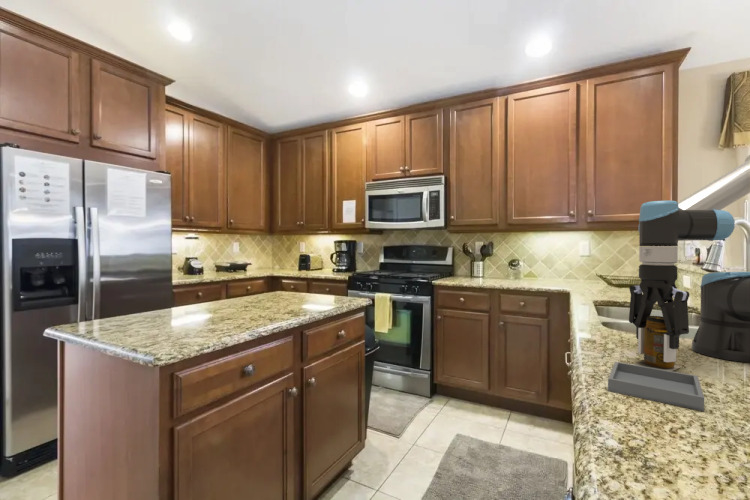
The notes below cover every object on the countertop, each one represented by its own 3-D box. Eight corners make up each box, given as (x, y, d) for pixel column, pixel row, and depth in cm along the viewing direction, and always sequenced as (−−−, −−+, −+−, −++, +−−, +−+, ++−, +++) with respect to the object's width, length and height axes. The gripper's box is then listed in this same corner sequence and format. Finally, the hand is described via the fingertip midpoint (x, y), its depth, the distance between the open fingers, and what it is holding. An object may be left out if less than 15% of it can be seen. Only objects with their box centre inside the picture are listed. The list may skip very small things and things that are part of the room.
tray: (614, 372, 86) (615, 361, 86) (697, 387, 77) (697, 375, 77) (607, 390, 74) (608, 378, 74) (703, 411, 65) (704, 397, 65)
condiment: (681, 367, 89) (682, 318, 89) (668, 373, 84) (668, 322, 84) (646, 359, 95) (647, 313, 95) (632, 365, 91) (632, 316, 90)
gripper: (612, 262, 98) (611, 347, 99) (684, 266, 80) (683, 371, 80) (636, 262, 100) (634, 346, 100) (712, 266, 81) (710, 369, 81)
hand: (656, 357), depth 90 cm, fingers closed on condiment, 6 cm apart
